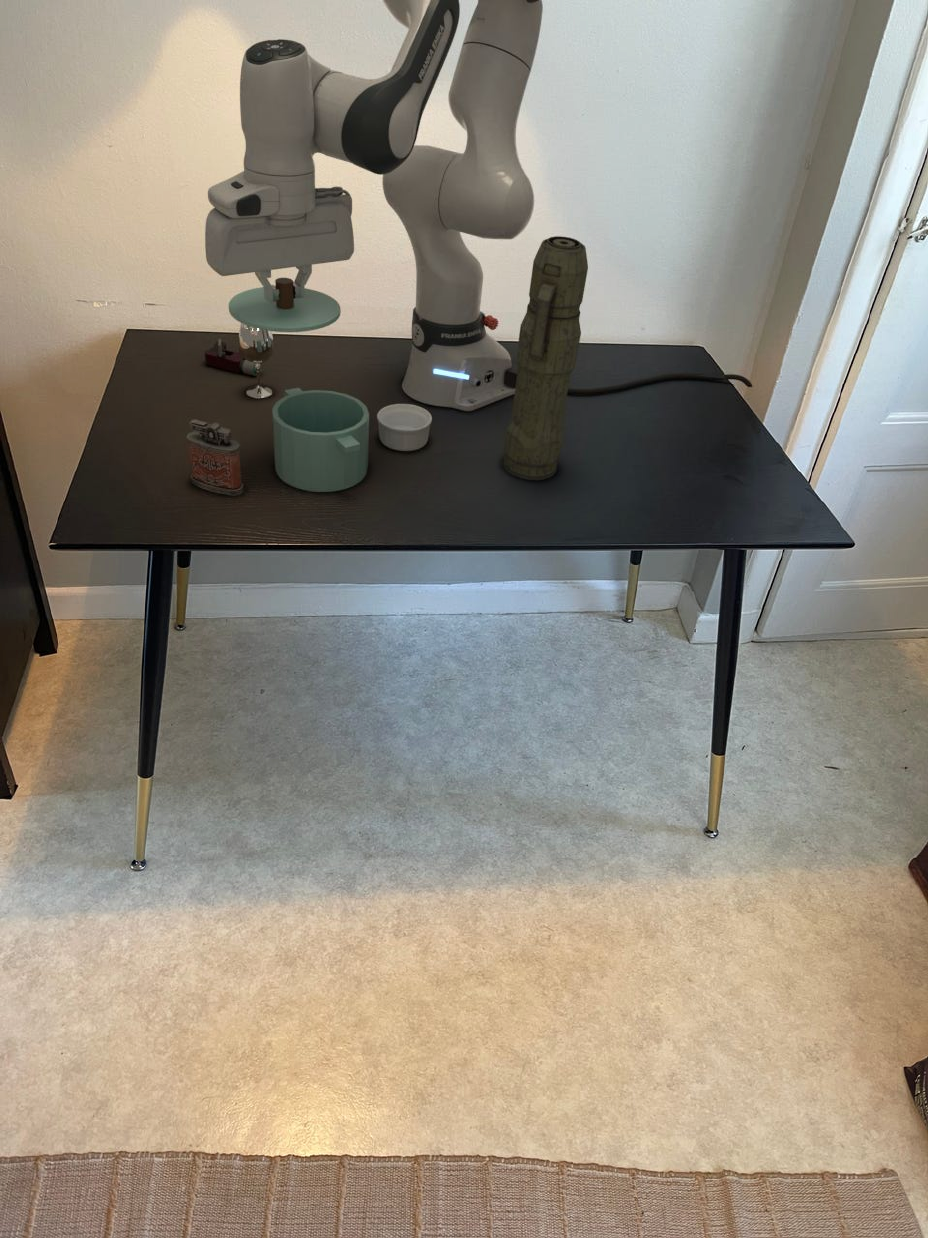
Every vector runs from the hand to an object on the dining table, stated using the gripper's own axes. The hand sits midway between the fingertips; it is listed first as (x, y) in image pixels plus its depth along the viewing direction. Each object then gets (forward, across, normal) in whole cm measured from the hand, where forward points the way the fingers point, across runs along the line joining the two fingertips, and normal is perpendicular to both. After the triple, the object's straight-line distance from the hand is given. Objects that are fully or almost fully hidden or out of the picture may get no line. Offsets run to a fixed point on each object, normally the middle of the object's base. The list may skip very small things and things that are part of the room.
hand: (284, 298), depth 124 cm
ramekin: (+25, -19, +2) cm, 32 cm away
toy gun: (+25, -8, -35) cm, 44 cm away
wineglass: (+25, -5, -23) cm, 34 cm away
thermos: (+25, -33, +18) cm, 46 cm away
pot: (+25, -3, +4) cm, 26 cm away
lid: (+2, 0, 0) cm, 2 cm away
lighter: (+25, +13, +2) cm, 29 cm away
